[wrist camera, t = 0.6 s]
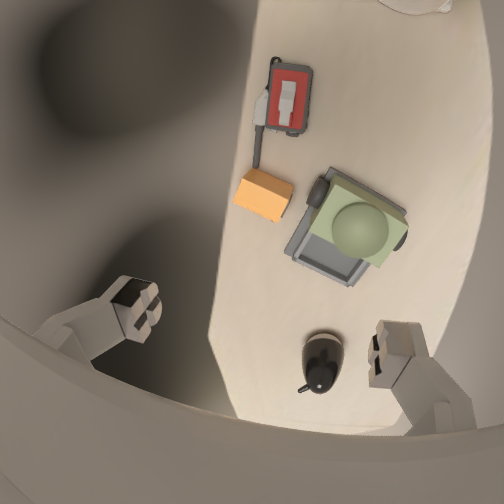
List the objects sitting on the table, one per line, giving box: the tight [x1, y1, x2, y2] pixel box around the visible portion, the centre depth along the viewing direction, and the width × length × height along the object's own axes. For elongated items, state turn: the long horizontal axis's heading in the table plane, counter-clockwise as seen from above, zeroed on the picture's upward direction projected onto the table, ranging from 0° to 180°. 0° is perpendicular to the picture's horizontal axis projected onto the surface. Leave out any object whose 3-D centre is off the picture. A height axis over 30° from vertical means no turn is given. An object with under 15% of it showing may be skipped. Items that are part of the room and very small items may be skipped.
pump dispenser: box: [298, 333, 344, 394], centre depth 61 cm, size 10×10×15 cm
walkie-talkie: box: [252, 57, 313, 169], centre depth 42 cm, size 9×4×20 cm
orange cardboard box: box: [233, 168, 294, 223], centre depth 48 cm, size 4×8×7 cm, turn 69°
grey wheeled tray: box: [284, 167, 409, 287], centre depth 48 cm, size 19×18×9 cm
